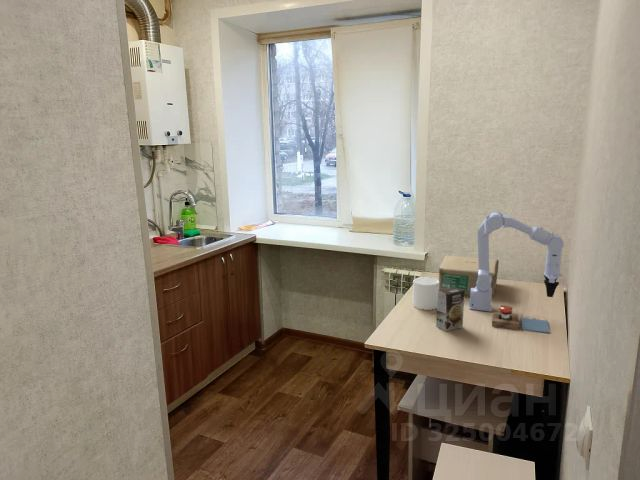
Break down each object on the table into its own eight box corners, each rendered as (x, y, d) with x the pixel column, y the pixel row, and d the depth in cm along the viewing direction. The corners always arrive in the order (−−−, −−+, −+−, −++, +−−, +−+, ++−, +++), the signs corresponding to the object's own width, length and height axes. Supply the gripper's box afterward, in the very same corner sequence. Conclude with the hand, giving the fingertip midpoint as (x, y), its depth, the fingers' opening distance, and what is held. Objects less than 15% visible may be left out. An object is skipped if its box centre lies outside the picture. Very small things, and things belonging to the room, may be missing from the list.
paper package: (436, 293, 230) (438, 267, 227) (444, 278, 253) (445, 253, 250) (494, 300, 220) (496, 272, 217) (497, 283, 243) (499, 258, 240)
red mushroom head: (498, 324, 193) (500, 308, 191) (498, 320, 197) (500, 304, 196) (511, 326, 191) (512, 310, 190) (511, 321, 196) (512, 306, 194)
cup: (433, 311, 208) (434, 286, 205) (408, 307, 214) (409, 282, 211) (441, 303, 217) (442, 279, 214) (417, 299, 223) (418, 275, 220)
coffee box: (446, 332, 187) (448, 294, 183) (435, 326, 193) (437, 289, 189) (463, 327, 191) (465, 290, 187) (452, 321, 197) (454, 285, 193)
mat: (522, 329, 187) (522, 328, 187) (521, 318, 198) (521, 317, 198) (549, 333, 184) (549, 332, 184) (546, 321, 195) (547, 320, 195)
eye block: (491, 326, 191) (492, 320, 191) (492, 317, 201) (492, 311, 200) (518, 329, 188) (519, 323, 187) (517, 319, 197) (518, 314, 196)
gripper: (564, 269, 187) (560, 300, 190) (562, 260, 200) (559, 289, 203) (545, 267, 190) (541, 298, 193) (544, 258, 203) (541, 287, 206)
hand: (549, 293), depth 198 cm, fingers open, 7 cm apart
